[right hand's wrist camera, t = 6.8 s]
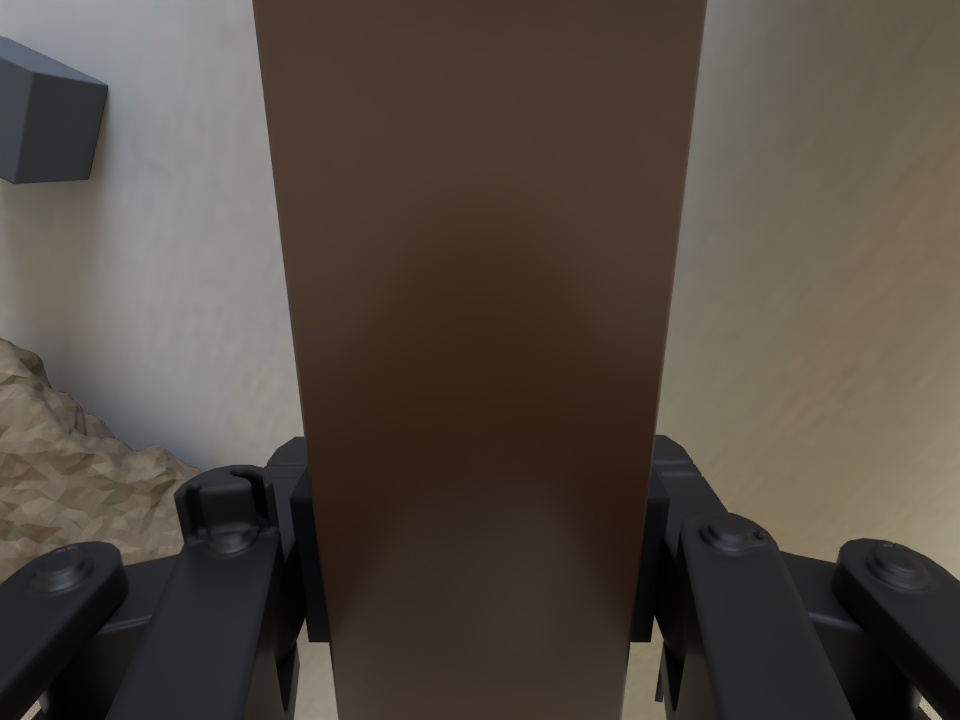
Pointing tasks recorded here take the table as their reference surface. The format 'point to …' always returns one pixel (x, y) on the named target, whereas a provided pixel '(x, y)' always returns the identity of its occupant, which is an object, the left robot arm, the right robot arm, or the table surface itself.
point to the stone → (76, 476)
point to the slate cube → (46, 117)
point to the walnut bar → (479, 331)
